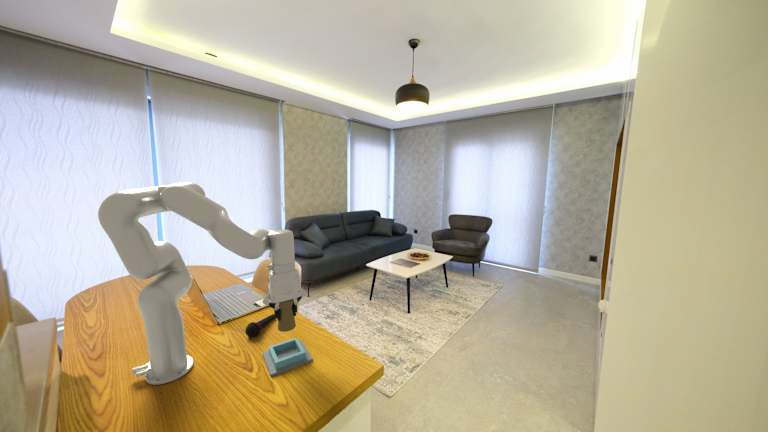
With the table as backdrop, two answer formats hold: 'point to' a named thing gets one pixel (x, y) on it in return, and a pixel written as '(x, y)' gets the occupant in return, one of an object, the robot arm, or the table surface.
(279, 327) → the cork
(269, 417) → the table surface
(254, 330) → the microphone
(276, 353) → the socket
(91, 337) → the table surface
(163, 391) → the table surface
